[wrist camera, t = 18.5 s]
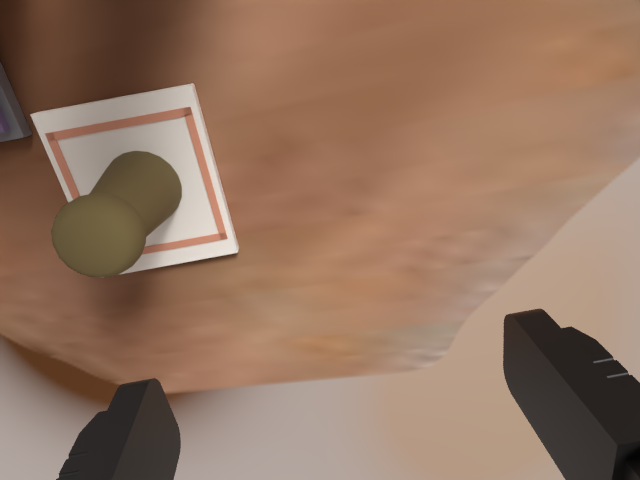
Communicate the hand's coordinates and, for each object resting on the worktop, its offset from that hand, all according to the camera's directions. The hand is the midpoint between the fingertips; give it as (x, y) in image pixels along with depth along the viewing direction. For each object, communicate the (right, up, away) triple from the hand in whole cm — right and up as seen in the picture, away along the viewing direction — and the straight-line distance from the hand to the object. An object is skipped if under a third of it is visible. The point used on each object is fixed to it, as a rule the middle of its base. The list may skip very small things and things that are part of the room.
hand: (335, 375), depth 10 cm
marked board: (-15, +8, +26) cm, 31 cm away
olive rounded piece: (-14, +7, +26) cm, 30 cm away
